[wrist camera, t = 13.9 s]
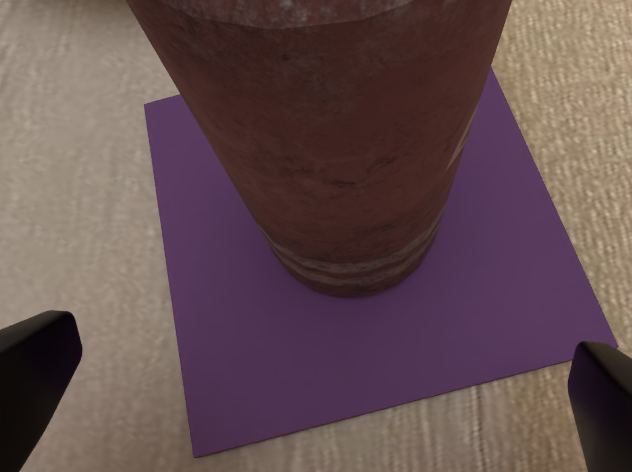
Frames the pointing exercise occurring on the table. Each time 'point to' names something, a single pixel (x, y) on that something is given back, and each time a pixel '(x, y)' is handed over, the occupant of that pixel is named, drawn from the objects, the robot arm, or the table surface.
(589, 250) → the table surface
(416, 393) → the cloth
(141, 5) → the can
